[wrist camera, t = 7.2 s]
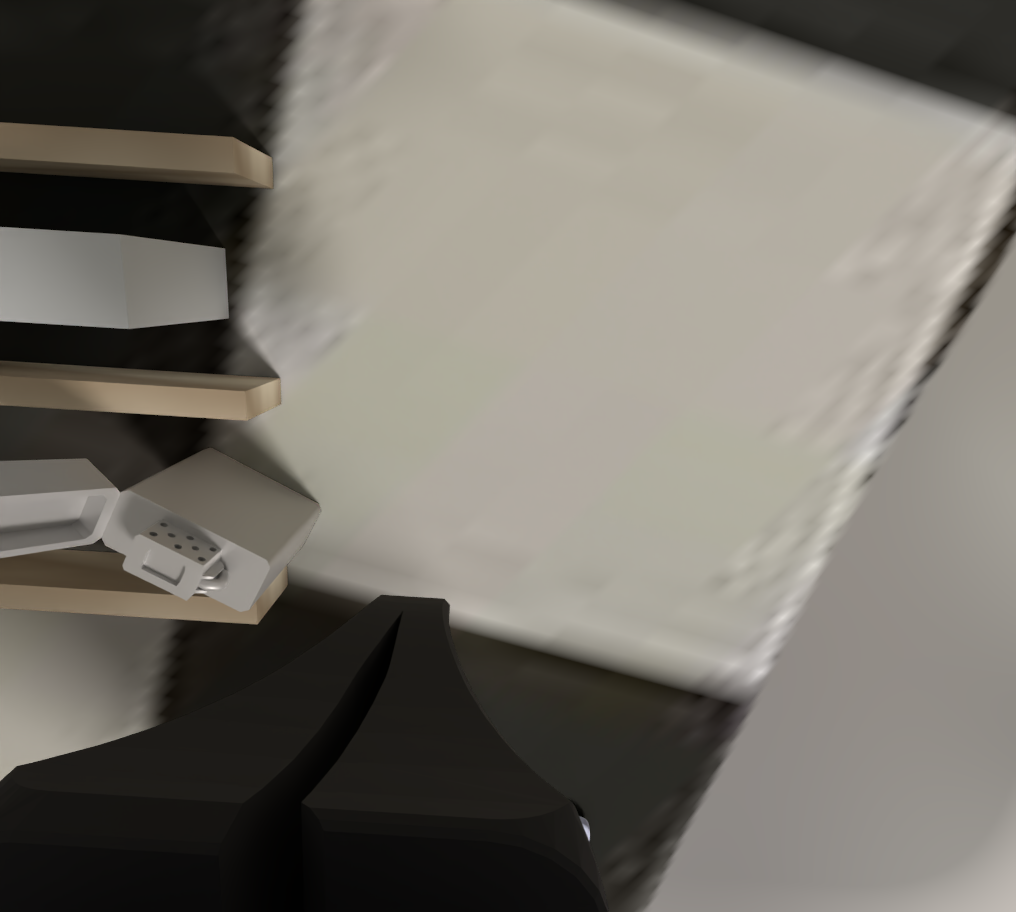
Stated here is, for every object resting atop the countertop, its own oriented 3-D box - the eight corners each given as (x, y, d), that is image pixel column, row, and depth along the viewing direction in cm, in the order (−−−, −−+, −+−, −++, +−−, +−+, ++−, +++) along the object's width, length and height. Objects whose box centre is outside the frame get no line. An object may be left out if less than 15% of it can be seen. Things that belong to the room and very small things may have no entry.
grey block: (230, 318, 19) (129, 328, 14) (-2, 303, 19) (-184, 309, 14) (226, 248, 18) (119, 234, 13) (-13, 233, 18) (-206, 213, 13)
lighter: (323, 506, 20) (201, 643, 12) (301, 549, 20) (169, 707, 13) (117, 398, 19) (-151, 473, 12) (99, 445, 20) (-173, 547, 12)
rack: (287, 585, 21) (257, 624, 18) (-33, 565, 21) (-105, 601, 18) (272, 158, 17) (232, 137, 15) (-113, 133, 17) (-214, 108, 15)
